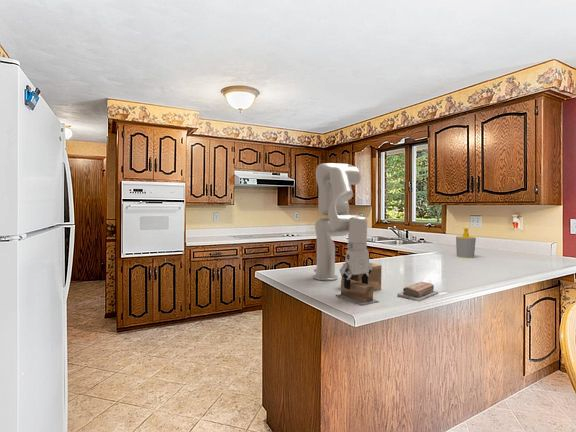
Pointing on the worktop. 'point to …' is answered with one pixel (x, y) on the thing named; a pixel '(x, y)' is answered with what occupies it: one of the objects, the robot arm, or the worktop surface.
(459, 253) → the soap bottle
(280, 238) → the worktop surface
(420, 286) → the packaged product
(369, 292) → the walnut block
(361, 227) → the robot arm
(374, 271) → the brown squarish box
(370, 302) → the grey mat
